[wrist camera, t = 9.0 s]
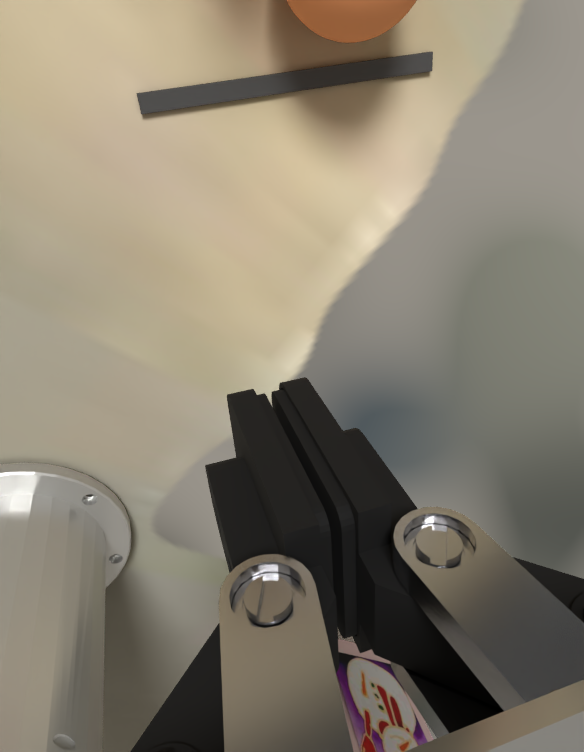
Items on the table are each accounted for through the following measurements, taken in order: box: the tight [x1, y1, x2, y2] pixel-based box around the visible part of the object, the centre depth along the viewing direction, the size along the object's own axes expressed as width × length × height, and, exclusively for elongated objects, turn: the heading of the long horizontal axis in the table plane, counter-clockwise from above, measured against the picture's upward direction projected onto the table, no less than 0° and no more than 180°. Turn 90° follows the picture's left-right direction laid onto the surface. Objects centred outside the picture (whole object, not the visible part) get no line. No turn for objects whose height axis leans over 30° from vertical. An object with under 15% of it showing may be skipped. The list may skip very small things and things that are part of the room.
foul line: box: [137, 52, 433, 114], centre depth 25 cm, size 1×14×1 cm, turn 97°
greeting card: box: [336, 639, 433, 752], centre depth 45 cm, size 11×7×15 cm, turn 51°
